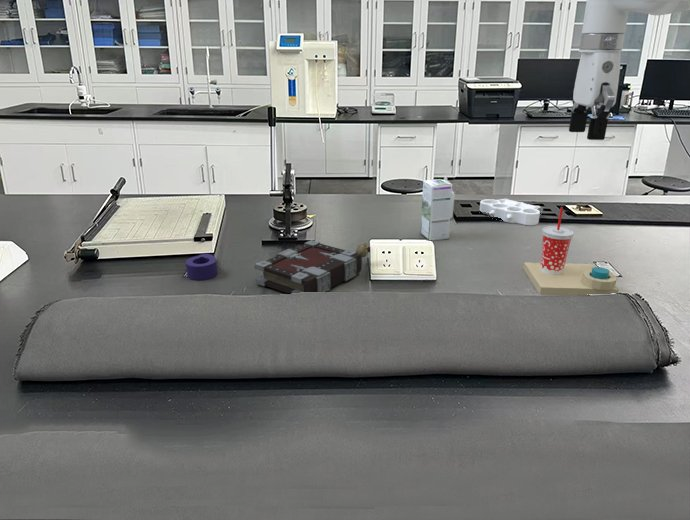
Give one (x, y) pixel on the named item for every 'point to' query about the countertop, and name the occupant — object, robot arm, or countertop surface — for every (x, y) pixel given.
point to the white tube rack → (512, 211)
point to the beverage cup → (555, 248)
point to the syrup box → (436, 209)
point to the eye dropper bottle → (451, 200)
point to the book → (310, 267)
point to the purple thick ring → (201, 267)
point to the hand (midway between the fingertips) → (585, 135)
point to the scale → (570, 280)
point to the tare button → (600, 273)
